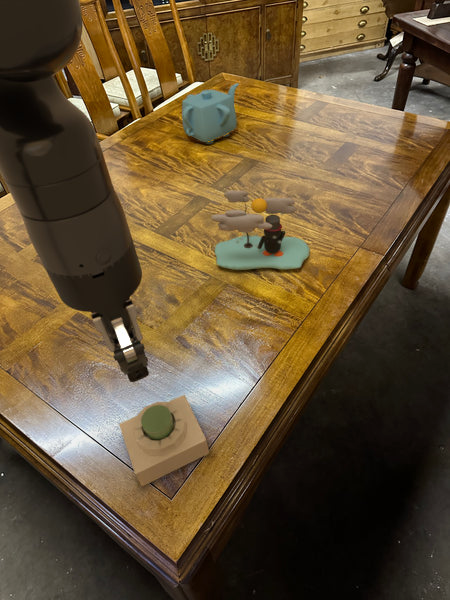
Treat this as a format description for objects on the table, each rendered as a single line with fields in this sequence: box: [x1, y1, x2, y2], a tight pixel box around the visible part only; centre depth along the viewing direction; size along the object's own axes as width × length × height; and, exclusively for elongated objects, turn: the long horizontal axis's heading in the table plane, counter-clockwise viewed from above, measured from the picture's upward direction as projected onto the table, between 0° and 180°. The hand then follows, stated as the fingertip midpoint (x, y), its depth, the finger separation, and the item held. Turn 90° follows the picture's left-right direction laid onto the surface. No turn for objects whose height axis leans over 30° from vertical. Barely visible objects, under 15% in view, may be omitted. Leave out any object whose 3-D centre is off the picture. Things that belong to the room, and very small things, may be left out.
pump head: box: [141, 405, 174, 440], centre depth 55 cm, size 4×4×2 cm
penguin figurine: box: [210, 190, 311, 271], centre depth 83 cm, size 20×11×15 cm, turn 81°
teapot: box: [181, 83, 240, 145], centre depth 129 cm, size 18×16×14 cm
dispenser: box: [118, 394, 210, 487], centre depth 58 cm, size 10×8×6 cm
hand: (135, 366), depth 47 cm, fingers closed
